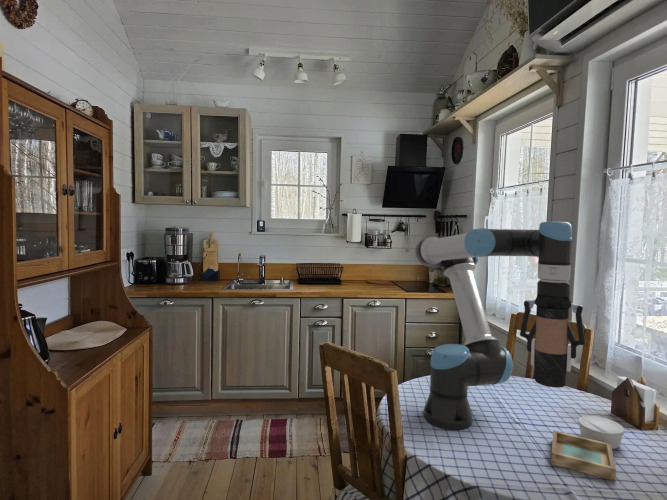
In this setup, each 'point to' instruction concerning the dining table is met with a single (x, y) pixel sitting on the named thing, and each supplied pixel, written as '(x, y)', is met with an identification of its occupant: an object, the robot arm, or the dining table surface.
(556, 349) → the travel mug
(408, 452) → the dining table surface
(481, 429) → the dining table surface
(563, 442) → the tray
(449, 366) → the robot arm
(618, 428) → the ramekin
